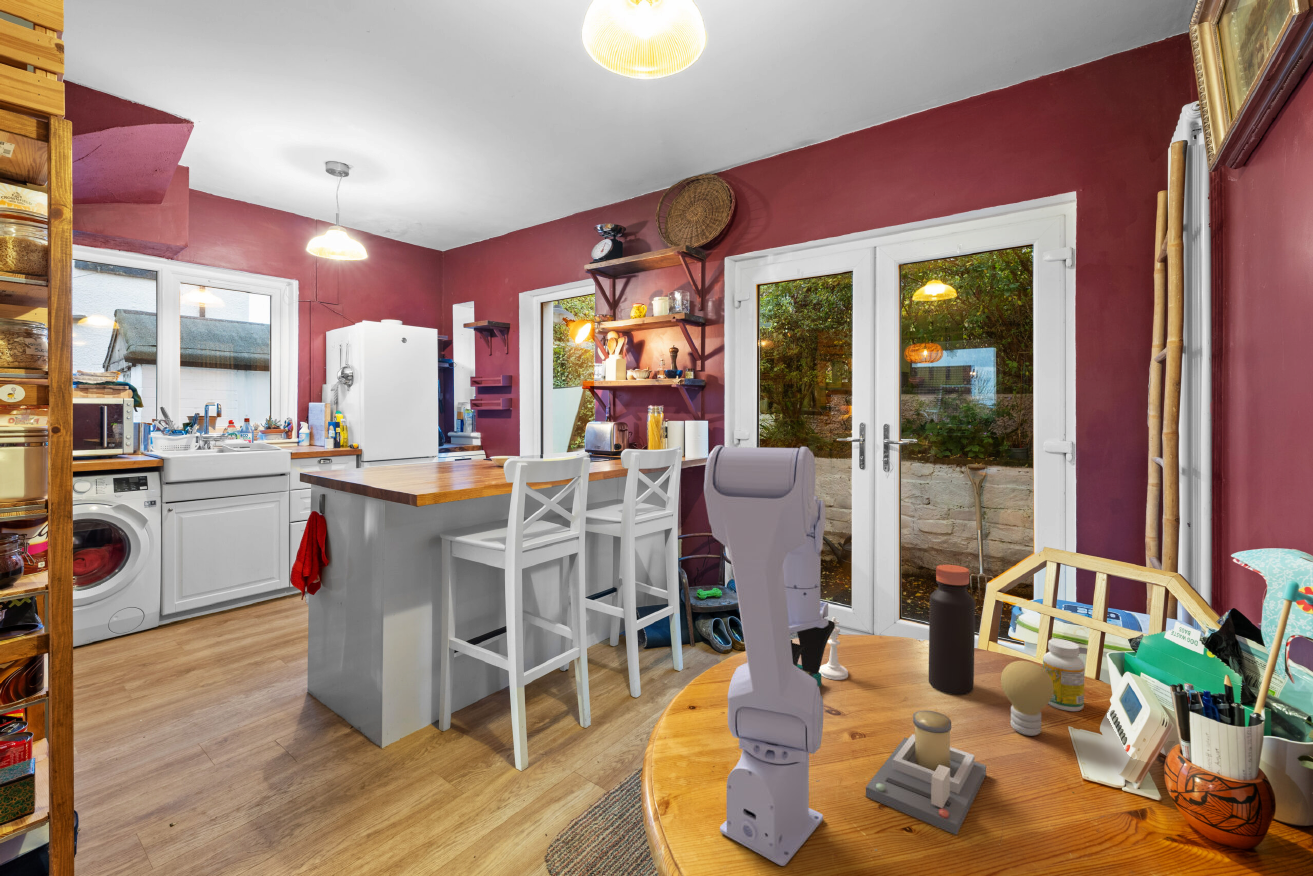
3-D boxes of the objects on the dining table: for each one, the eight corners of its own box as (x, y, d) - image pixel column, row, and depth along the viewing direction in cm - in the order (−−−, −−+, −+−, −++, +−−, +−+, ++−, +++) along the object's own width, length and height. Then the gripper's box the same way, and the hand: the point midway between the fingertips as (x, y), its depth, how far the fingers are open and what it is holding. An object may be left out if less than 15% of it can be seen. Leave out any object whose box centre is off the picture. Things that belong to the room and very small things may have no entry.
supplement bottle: (1089, 714, 90) (1091, 652, 89) (1049, 709, 91) (1050, 648, 91) (1074, 697, 95) (1076, 638, 94) (1037, 693, 96) (1038, 635, 96)
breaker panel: (956, 835, 64) (956, 814, 64) (865, 796, 71) (865, 777, 71) (986, 774, 75) (986, 756, 75) (904, 745, 81) (904, 729, 81)
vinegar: (983, 691, 97) (985, 571, 96) (952, 699, 94) (955, 575, 94) (948, 674, 103) (950, 561, 102) (919, 681, 101) (920, 565, 100)
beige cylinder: (945, 780, 72) (944, 732, 72) (908, 767, 75) (907, 720, 75) (956, 764, 75) (956, 718, 75) (921, 751, 78) (920, 707, 78)
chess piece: (852, 680, 101) (852, 622, 101) (823, 680, 101) (823, 622, 101) (843, 667, 106) (843, 613, 106) (815, 667, 106) (816, 613, 106)
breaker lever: (942, 808, 67) (942, 780, 66) (931, 803, 67) (931, 776, 67) (949, 795, 69) (950, 768, 69) (938, 790, 70) (939, 764, 70)
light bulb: (1056, 730, 85) (1057, 662, 85) (1047, 749, 81) (1049, 677, 80) (1005, 715, 90) (1007, 650, 89) (994, 732, 85) (996, 663, 84)
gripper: (800, 602, 72) (800, 711, 73) (848, 576, 83) (848, 671, 84) (750, 591, 77) (750, 693, 77) (802, 568, 87) (802, 658, 88)
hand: (798, 681), depth 81 cm, fingers open, 7 cm apart
